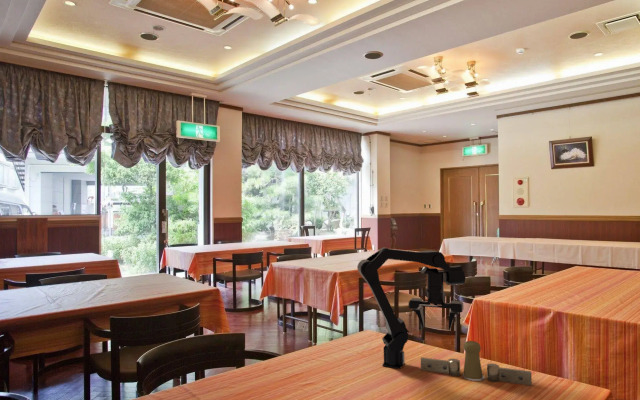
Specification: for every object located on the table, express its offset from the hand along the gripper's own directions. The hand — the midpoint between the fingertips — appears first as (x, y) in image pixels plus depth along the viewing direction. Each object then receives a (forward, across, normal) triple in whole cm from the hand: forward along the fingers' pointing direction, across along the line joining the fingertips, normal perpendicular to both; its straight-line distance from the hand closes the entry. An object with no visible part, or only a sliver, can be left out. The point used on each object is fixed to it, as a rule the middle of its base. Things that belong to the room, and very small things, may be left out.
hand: (436, 328), depth 150 cm
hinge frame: (+12, -13, +9) cm, 20 cm away
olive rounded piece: (+12, -13, +9) cm, 20 cm away
